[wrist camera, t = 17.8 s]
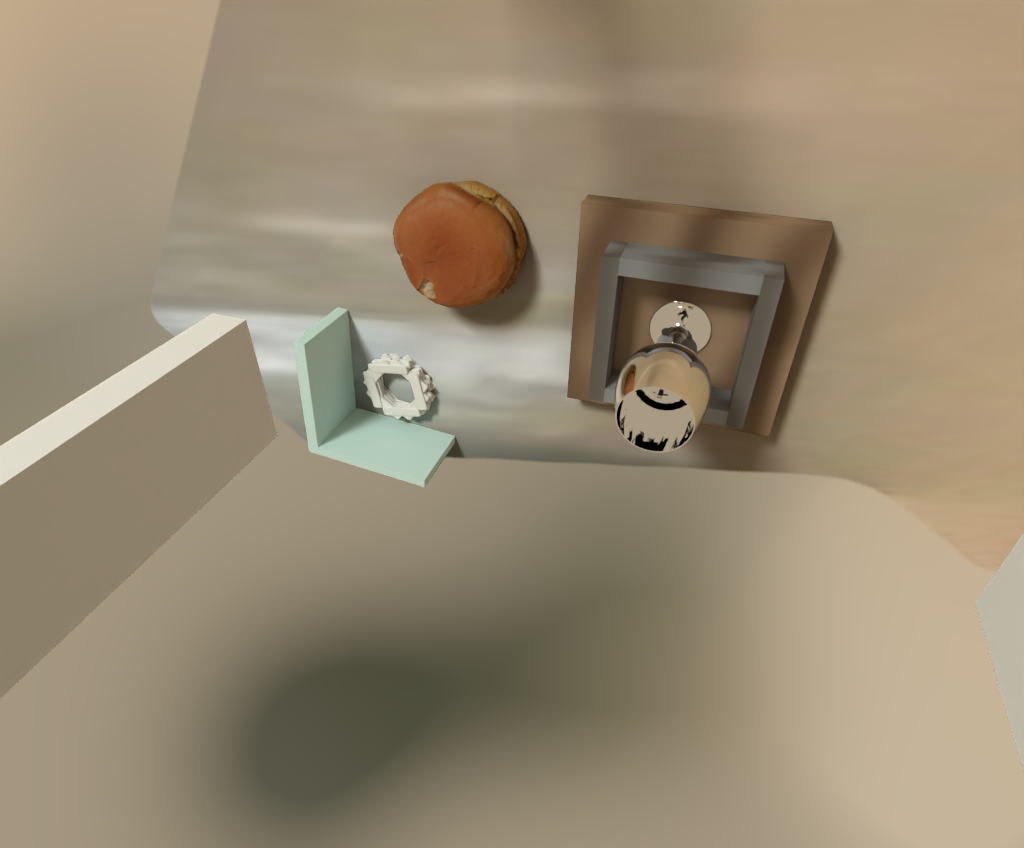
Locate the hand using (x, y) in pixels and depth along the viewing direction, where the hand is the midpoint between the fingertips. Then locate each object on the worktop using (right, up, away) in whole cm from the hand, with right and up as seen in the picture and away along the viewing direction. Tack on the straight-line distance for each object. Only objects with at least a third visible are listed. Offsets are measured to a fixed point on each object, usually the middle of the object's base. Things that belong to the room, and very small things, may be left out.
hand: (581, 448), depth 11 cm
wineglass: (+11, +7, +35) cm, 38 cm away
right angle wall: (-12, +5, +50) cm, 52 cm away
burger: (-4, +15, +39) cm, 42 cm away
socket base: (+12, +9, +37) cm, 40 cm away
